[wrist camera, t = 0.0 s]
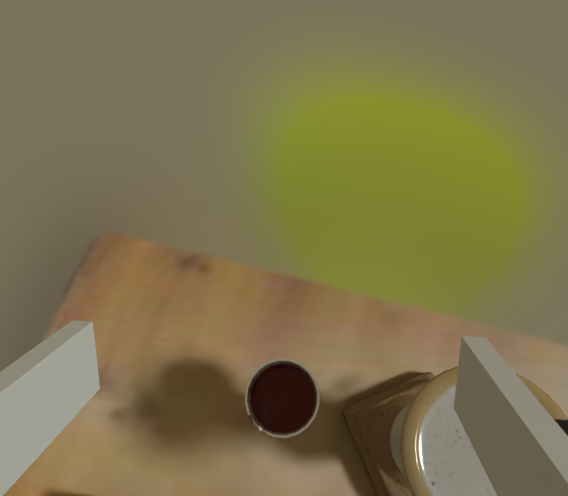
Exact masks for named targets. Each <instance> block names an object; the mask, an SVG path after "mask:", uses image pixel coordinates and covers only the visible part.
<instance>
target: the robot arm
mask: <svg viewBox="0 0 568 496" xmlns="http://www.w3.org/2000/svg"><path fill="white" fill-rule="evenodd" d="M99 389H100V385H99V376H98V368H97V359H96V350H95V341H94V333H93V324H92V322H91V321H71V322H70V323H68V324H67V325H66V326H64V327H63V328H61V329H60V330H59V331H57V332H56V333H54V334H53V335H52V336H50V337H49V338H47V339H46V340H44V341H43V342H42V343H40V344H39V345H37V346H36V347H35V348H33V349H32V350H30V351H29V352H28V353H26V354H25V355H23V356H22V357H21V358H19V359H18V360H16V361H15V362H14V363H12V364H11V365H9V366H8V367H6V368H5V369H4V370H3V371H1V372H0V496H3V495H4V494H5V493H6V492H7V490H8V489H9V488H10V487H11V486H12V485H13V484H14V483H15V482H16V481H17V479H18V478H19V477H20V476H21V475H22V474H23V473H24V472H25V471H26V470H27V468H28V467H29V466H30V465H31V464H32V463H33V462H34V461H35V460H36V458H37V457H38V456H39V455H40V454H41V453H42V452H43V451H44V450H45V449H46V447H47V446H48V445H49V444H50V443H51V442H52V441H53V440H54V439H55V438H56V436H57V435H58V434H59V433H60V432H61V431H62V430H63V429H64V428H65V426H66V425H67V424H68V423H69V422H70V421H71V420H72V419H73V418H74V417H75V415H76V414H77V413H78V412H79V411H80V410H81V409H82V408H83V407H84V406H85V404H86V403H87V402H88V401H89V400H90V399H91V398H92V397H93V396H94V395H95V393H96V392H97V391H98V390H99ZM454 409H455V411H456V413H457V415H458V417H459V419H460V421H461V424H462V426H463V428H464V430H465V432H466V434H467V436H468V438H469V440H470V442H471V444H472V446H473V448H474V450H475V452H476V454H477V456H478V458H479V460H480V462H481V464H482V466H483V468H484V470H485V472H486V474H487V476H488V478H489V480H490V482H491V484H492V486H493V488H494V490H495V492H496V494H497V496H568V420H560V419H553V418H552V417H551V415H550V414H549V413H548V412H547V411H546V409H545V408H544V407H543V406H542V405H541V403H540V402H539V401H538V400H537V399H536V397H535V396H534V395H533V394H532V393H531V392H530V390H529V389H528V388H527V387H526V386H525V384H524V383H523V382H522V381H521V380H520V378H519V377H518V376H517V375H516V374H515V372H514V371H513V370H512V369H511V368H510V367H509V365H508V364H507V363H506V362H505V361H504V359H503V358H502V357H501V356H500V355H499V353H498V352H497V351H496V350H495V349H494V347H493V346H492V345H491V344H490V343H489V342H488V340H487V339H486V338H485V337H463V336H462V338H461V347H460V356H459V365H458V374H457V383H456V391H455V400H454Z"/></svg>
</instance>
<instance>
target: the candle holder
mask: <svg viewBox="0 0 568 496" xmlns="http://www.w3.org/2000/svg"><path fill="white" fill-rule="evenodd" d="M457 374H458V367H455V368H453V369H450V370H447V371H444V372H442V373H441V374H439V375H437V376H435V377H434V375H433V374H432V373H431V372H426V373H424V374H421V375H418V376H416V377H413V378H411V379H409V380H407V381H404V382H402V383H400V384H398V385H395V386H393V387H391V388H389V389H387V390H384V391H382V392H380V393H378V394H376V395H373V396H371V397H369V398H367V399H365V400H362V401H360V402H358V403H356V404H354V405H352V406H350V407H348V408H346V409H345V410H344V411H343V415H344V418H345V420H346V423H347V425H348V428H349V430H350V433H351V435H352V437H353V439H354V442H355V444H356V446H357V449H358V451H359V453H360V455H361V458H362V460H363V462H364V465H365V467H366V469H367V471H368V474H369V476H370V478H371V481H372V483H373V485H374V487H375V490H376V492H377V494H378V496H497V494H496V492H495V490H494V488H493V486H492V484H491V482H490V480H489V478H488V476H487V474H486V472H485V470H484V468H483V466H482V464H481V462H480V460H479V458H478V456H477V454H476V452H475V450H474V448H473V446H472V444H471V442H470V440H469V438H468V436H467V434H466V432H465V430H464V428H463V426H462V424H461V421H460V419H459V417H458V415H457V413H456V411H455V409H454V400H455V391H456V383H457ZM515 374H516V373H515ZM516 375H517V376H518V377H519V378H520V380H521V381H522V382H523V383H524V384H525V386H526V387H527V388H528V389H529V390H530V392H531V393H532V394H533V395H534V396H535V397H536V399H537V400H538V401H539V402H540V403H541V405H542V406H543V407H544V408H545V409H546V411H547V412H548V413H549V414H550V415H551V417H552V418H553V419H560V420H568V418H567V417H566V416H565V414H564V413H563V411H562V410H561V409H560V407H559V406H558V405H557V404H556V403H555V402H554V401H553V400H552V399H551V397H550V396H549V395H548V394H546V393H545V392H544V391H543V390H542V389H540V388H539V387H538V386H537V385H535V384H534V383H532V382H531V381H529V380H527V379H526V378H524V377H522V376H520V375H518V374H516Z"/></svg>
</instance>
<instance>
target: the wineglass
mask: <svg viewBox="0 0 568 496" xmlns="http://www.w3.org/2000/svg"><path fill="white" fill-rule="evenodd" d="M245 405H246V410H247V414H248V415H249V417H250V419H251V421H252V422H253V424H254V425H255V426H256V427H257V428H258V429H259V430H260V431H262V432H263V433H265V434H267V435H270V436H272V437H278V438H289V437H293V436H296V435H299V434H301V433H302V432H303V431H305V430H306V429H308V428H309V427H310V425H311V424H312V423H313V421H314V420H315V419H316V416H317V413H318V410H319V407H320V392H319V388H318V384H317V381H316V379H315V378H314V376H313V375H312V373H311V372H310V370H308V369H307V368H306V367H305V366H304V365H302V364H301V363H299V362H297V361H294V360H291V359H282V358H278V359H274V360H271V361H267V362H266V363H264V364H263V365H261V366H260V367H258V368H257V369H256V371H255V372H254V373H253V374H252V376H251V377H250V379H249V382H248V384H247V387H246V391H245Z"/></svg>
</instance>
